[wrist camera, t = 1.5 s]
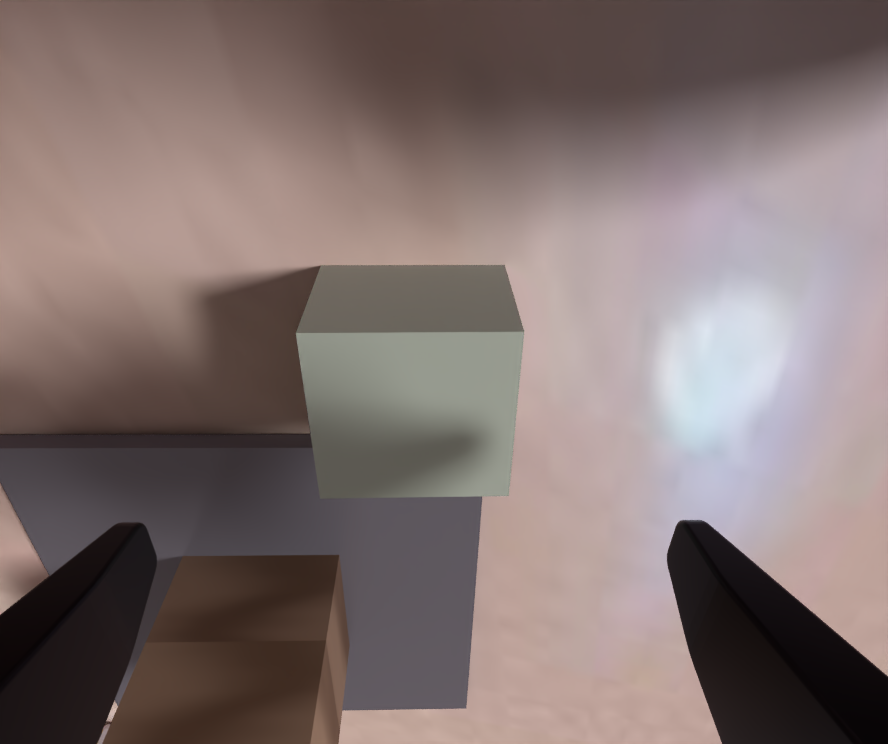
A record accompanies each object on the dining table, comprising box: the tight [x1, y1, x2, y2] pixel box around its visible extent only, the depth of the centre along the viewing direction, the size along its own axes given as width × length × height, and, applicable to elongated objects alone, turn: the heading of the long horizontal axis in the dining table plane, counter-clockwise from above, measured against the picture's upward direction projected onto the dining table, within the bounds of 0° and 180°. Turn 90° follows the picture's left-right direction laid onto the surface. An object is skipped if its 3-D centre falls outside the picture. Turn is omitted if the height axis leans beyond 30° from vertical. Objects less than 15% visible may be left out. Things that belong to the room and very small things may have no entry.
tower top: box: [102, 640, 340, 744], centre depth 17 cm, size 5×5×3 cm
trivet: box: [0, 434, 482, 710], centre depth 21 cm, size 14×14×1 cm
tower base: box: [146, 555, 350, 730], centre depth 19 cm, size 5×5×3 cm
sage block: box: [296, 265, 524, 499], centre depth 14 cm, size 4×4×4 cm
